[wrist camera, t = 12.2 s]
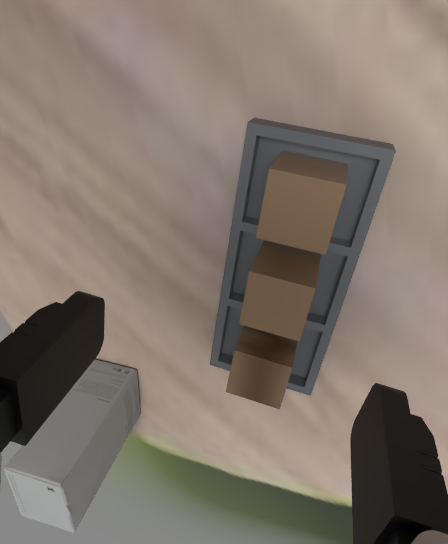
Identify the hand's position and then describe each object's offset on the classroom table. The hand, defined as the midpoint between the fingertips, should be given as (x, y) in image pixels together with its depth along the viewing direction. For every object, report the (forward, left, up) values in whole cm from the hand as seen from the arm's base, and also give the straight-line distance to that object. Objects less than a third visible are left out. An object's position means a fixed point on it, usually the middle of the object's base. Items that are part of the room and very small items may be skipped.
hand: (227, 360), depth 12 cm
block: (0, -17, -23) cm, 29 cm away
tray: (0, -9, -24) cm, 26 cm away
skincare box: (-17, -32, -24) cm, 43 cm away
